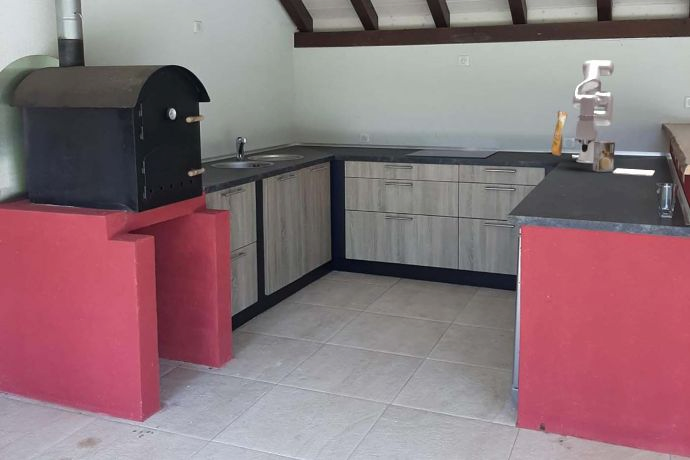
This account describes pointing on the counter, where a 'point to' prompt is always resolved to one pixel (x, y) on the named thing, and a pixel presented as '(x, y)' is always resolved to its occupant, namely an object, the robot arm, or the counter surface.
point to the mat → (634, 172)
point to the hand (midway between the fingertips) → (584, 151)
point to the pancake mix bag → (558, 133)
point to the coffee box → (603, 156)
